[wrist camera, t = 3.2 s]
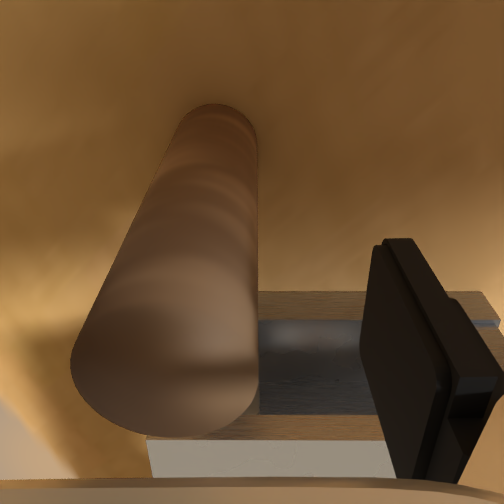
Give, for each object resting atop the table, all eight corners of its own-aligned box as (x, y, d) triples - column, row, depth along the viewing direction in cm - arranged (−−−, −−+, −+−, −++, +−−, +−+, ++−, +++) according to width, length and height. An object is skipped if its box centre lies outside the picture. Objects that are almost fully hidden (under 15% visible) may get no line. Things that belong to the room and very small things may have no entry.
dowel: (257, 103, 17) (258, 303, 7) (257, 183, 19) (258, 438, 9) (171, 104, 18) (50, 303, 7) (178, 184, 19) (89, 437, 9)
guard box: (481, 291, 22) (584, 441, 15) (425, 475, 29) (476, 631, 22) (179, 291, 22) (145, 439, 15) (199, 474, 29) (181, 629, 22)
